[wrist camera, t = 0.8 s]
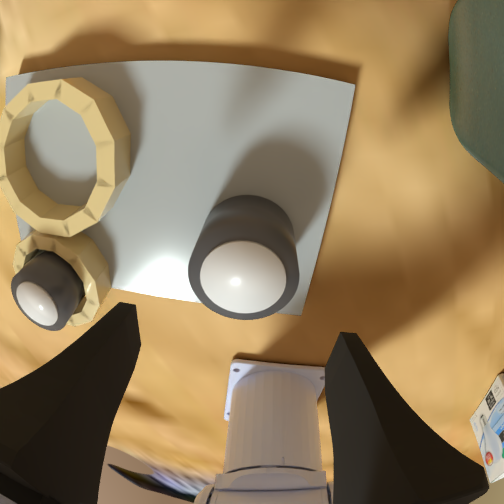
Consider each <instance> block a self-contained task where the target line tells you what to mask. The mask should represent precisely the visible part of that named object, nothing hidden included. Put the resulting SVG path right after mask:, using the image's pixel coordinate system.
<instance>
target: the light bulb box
mask: <svg viewBox="0 0 504 504" xmlns="http://www.w3.org/2000/svg"><path fill="white" fill-rule="evenodd" d="M470 422H471V425H472V427H473V430H474V433H475V436H476V439H477V442H478V445H479V448H480V451H481V454H482V457H483V460H484V464H485V467H486V470H487V474H488V477H489V481H490V483H493V482H495V481H497V480H499V479H501V478H504V373H502V374H499V375H498V376H497V378H496V379H495V381H494V383H493V384H492V386H491V388H490V389H489V391H488V393H487V394H486V396H485V397H484V399H483V401H482V402H481V404H480V405H479V407H478V408H477V410H476V411H475V413H474V414H473V416H472V417H471V418H470Z"/></svg>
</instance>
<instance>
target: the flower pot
mask: <svg viewBox="0 0 504 504" xmlns="http://www.w3.org/2000/svg"><path fill="white" fill-rule="evenodd" d="M448 43H449V62H450V102H449V106H450V115H451V121H452V125H453V128H454V131H455V133H456V135H457V137H458V139H459V141H460V142H461V144H462V145H463V147H464V148H465V149H466V150H467V151H468V152H469V153H470V154H471V155H472V156H473V157H474V158H475V159H476V160H477V161H478V162H480V163H481V164H482V165H483V166H484V167H486V168H487V169H488V170H489V171H490V172H491V173H493V174H494V175H495V176H496V177H497V178H498V179H499V180H500V181H501V182H503V183H504V0H458V1H457V3H456V4H455V6H454V8H453V10H452V13H451V17H450V22H449V32H448Z"/></svg>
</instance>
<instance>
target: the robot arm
mask: <svg viewBox="0 0 504 504" xmlns="http://www.w3.org/2000/svg"><path fill="white" fill-rule="evenodd" d="M140 347H141V340H140V333H139V326H138V319H137V311H136V305H134V304H128V303H123V302H119V303H118V304H117V305H116V306H115V307H114V308H112V309H111V310H110V311H109V312H108V313H107V314H106V315H105V316H104V317H102V318H101V319H100V320H99V321H98V322H97V323H96V324H95V325H94V326H92V327H91V328H90V329H89V330H88V331H87V332H85V333H84V334H83V335H82V336H81V337H80V338H79V339H77V340H76V341H75V342H74V343H72V344H71V345H70V346H69V347H67V348H66V349H65V350H64V351H62V352H61V353H60V354H58V355H57V356H56V357H54V358H53V359H52V360H50V361H49V362H47V363H46V364H44V365H43V366H41V367H40V368H38V369H37V370H35V371H33V372H31V373H30V374H28V375H26V376H24V377H22V378H21V379H19V380H17V381H15V382H13V383H11V384H9V385H7V386H5V387H3V388H1V389H0V504H97V501H98V491H99V484H100V477H101V472H102V466H103V461H104V456H105V451H106V447H107V443H108V439H109V435H110V431H111V427H112V424H113V421H114V418H115V415H116V413H117V410H118V408H119V405H120V403H121V400H122V398H123V395H124V393H125V391H126V388H127V386H128V383H129V381H130V378H131V376H132V374H133V371H134V369H135V365H136V362H137V358H138V355H139V351H140ZM236 368H238V369H236ZM324 386H325V396H326V403H327V409H328V416H329V423H330V429H331V436H332V443H333V454H334V481H332V482H328V483H326V471H322V459H321V446H320V434H319V422H318V411H317V400H318V398H319V396H320V394H321V392H322V390H323V388H324ZM224 419H225V420H227V421H229V424H228V433H227V442H226V451H225V460H224V469H223V474H216V478H215V485H207V486H206V487H204V489H203V490H202V491H201V492H200V493H199V494H198V495H197V497H196V499H195V501H194V504H469V503H470V502H472V501H473V500H475V499H477V498H479V497H480V496H482V495H483V494H485V493H486V492H487V491H488V489H489V484H488V481H487V477H486V474H485V470H484V467H483V466H481V465H479V464H478V463H476V462H474V461H473V460H471V459H470V458H468V457H466V456H465V455H463V454H462V453H460V452H459V451H458V450H456V449H455V448H454V447H452V446H451V445H450V444H448V443H447V442H446V441H445V440H444V439H442V438H441V437H440V436H439V435H438V434H437V433H436V432H434V431H433V430H432V429H431V428H430V427H429V426H428V425H427V424H426V423H425V422H424V421H423V420H422V419H421V418H420V417H419V416H418V415H417V414H416V413H415V412H414V411H413V410H412V409H411V407H410V406H409V405H408V404H407V403H406V402H405V401H404V399H403V398H402V397H401V396H400V394H399V393H398V392H397V391H396V389H395V388H394V387H393V385H392V384H391V383H390V381H389V380H388V379H387V377H386V376H385V374H384V373H383V372H382V370H381V369H380V367H379V366H378V365H377V363H376V362H375V360H374V359H373V357H372V356H371V354H370V353H369V351H368V350H367V348H366V347H365V345H364V344H363V342H362V341H361V339H360V338H359V336H358V335H357V334H356V333H347V332H340V334H339V337H338V339H337V341H336V344H335V346H334V348H333V351H332V353H331V355H330V358H329V360H328V362H327V364H326V367H314V366H300V365H289V364H278V363H268V362H259V361H250V360H242V359H234V360H232V362H231V367H230V375H229V382H228V390H227V397H226V405H225V413H224Z"/></svg>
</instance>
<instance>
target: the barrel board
mask: <svg viewBox="0 0 504 504" xmlns="http://www.w3.org/2000/svg"><path fill="white" fill-rule="evenodd" d="M354 90H355V85H354V84H350V83H346V82H342V81H338V80H333V79H329V78H324V77H319V76H314V75H309V74H303V73H298V72H292V71H285V70H279V69H272V68H265V67H257V66H248V65H239V64H228V63H215V62H197V61H125V62H108V63H96V64H85V65H76V66H68V67H60V68H54V69H47V70H41V71H35V72H30V73H25V74H20V75H15V76H11V77H6V107H5V108H4V109H3V112H2V115H1V118H0V187H1V189H2V191H3V193H4V195H5V197H6V199H7V201H8V203H9V205H10V206H11V208H12V210H13V212H14V213H15V214H16V217H17V222H18V227H19V232H20V237H21V241H20V242H19V243H18V244H17V246H16V251H15V256H14V261H13V266H14V270H15V273H16V275H15V276H14V277H13V279H12V282H11V290H12V294H13V297H14V300H15V302H16V304H17V305H18V307H19V309H20V310H21V311H22V312H23V314H24V315H25V316H26V317H27V318H28V319H29V320H31V321H32V322H33V323H35V324H36V325H38V326H39V327H41V328H44V329H46V330H51V331H57V330H61V329H62V328H63V327H64V326H65V325H66V324H67V325H71V326H78V325H81V324H85V323H88V322H92V320H93V319H94V317H95V315H96V314H97V312H98V310H99V309H100V307H101V305H102V304H103V302H104V300H105V298H106V296H107V294H108V292H109V290H110V289H111V288H115V289H121V290H126V291H132V292H137V293H143V294H149V295H155V296H161V297H167V298H173V299H179V300H186V301H192V302H199V303H202V302H201V301H200V300H199V299H198V298H197V296H196V295H195V293H194V292H193V290H192V288H191V285H190V283H189V278H188V264H189V260H190V257H191V255H192V252H193V250H194V247H195V245H196V242H197V240H198V237H199V235H200V232H201V230H202V228H203V225H204V223H205V220H206V218H207V216H208V215H209V213H210V212H211V211H212V209H213V208H214V207H215V206H217V205H218V204H219V203H221V202H222V201H224V200H226V199H228V198H231V197H234V196H239V195H256V196H261V197H264V198H266V199H269V200H271V201H273V202H274V203H276V204H277V205H278V206H280V207H281V208H282V209H283V210H284V211H285V213H286V214H287V215H288V217H289V219H290V221H291V223H292V226H293V230H294V236H295V243H296V251H297V258H298V265H299V273H300V277H299V285H298V288H297V291H296V293H295V295H294V296H293V298H292V299H291V301H290V302H289V303H288V304H287V305H286V306H285V307H283V308H282V309H281V310H279V311H278V312H276V313H281V314H290V315H299V316H301V314H302V310H303V307H304V304H305V300H306V297H307V293H308V290H309V286H310V282H311V279H312V275H313V271H314V268H315V264H316V260H317V257H318V253H319V249H320V245H321V241H322V237H323V233H324V229H325V225H326V221H327V217H328V213H329V209H330V205H331V201H332V196H333V192H334V188H335V183H336V179H337V175H338V170H339V166H340V161H341V156H342V152H343V147H344V142H345V137H346V132H347V127H348V122H349V117H350V112H351V107H352V101H353V96H354ZM85 295H86V297H84V296H85Z"/></svg>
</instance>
